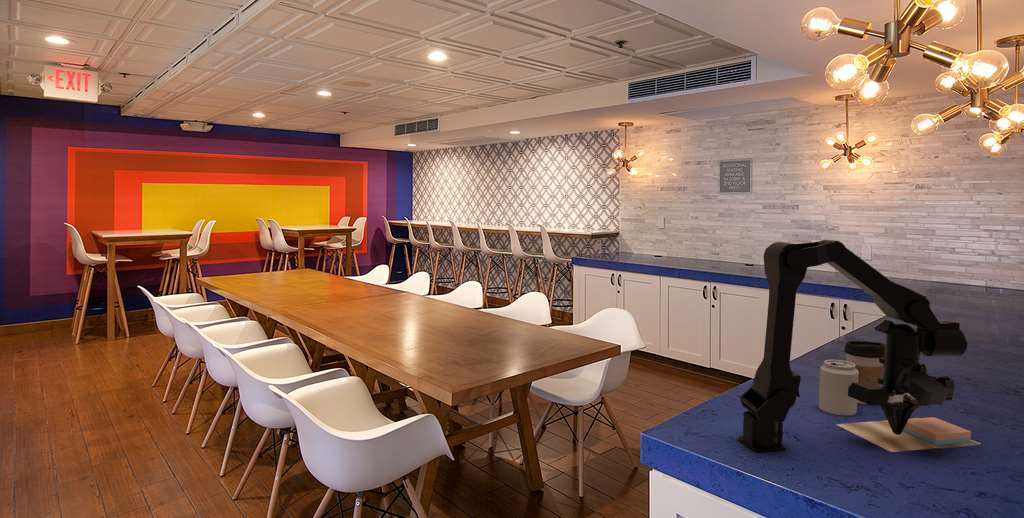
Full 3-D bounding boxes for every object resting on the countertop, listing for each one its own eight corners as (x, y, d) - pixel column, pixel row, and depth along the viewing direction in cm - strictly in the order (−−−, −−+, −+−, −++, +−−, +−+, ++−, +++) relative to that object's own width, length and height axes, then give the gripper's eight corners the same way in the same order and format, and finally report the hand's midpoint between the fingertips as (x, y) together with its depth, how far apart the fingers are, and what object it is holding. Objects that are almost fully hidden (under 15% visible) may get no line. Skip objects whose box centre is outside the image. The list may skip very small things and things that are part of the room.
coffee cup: (876, 413, 131) (879, 348, 130) (835, 404, 137) (839, 342, 136) (888, 405, 136) (891, 342, 135) (849, 396, 143) (852, 336, 141)
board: (893, 459, 107) (893, 452, 107) (835, 429, 121) (836, 423, 121) (983, 450, 111) (983, 444, 111) (917, 423, 125) (917, 417, 125)
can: (822, 406, 136) (824, 356, 135) (859, 413, 131) (861, 361, 130) (814, 415, 130) (817, 363, 129) (853, 423, 125) (856, 368, 124)
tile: (936, 434, 110) (971, 431, 112) (900, 419, 118) (934, 417, 120) (935, 444, 110) (970, 441, 112) (900, 429, 118) (933, 426, 120)
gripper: (895, 369, 102) (889, 454, 104) (983, 364, 106) (976, 447, 107) (848, 353, 113) (843, 431, 115) (928, 350, 117) (923, 425, 118)
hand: (896, 433), depth 113 cm, fingers closed
